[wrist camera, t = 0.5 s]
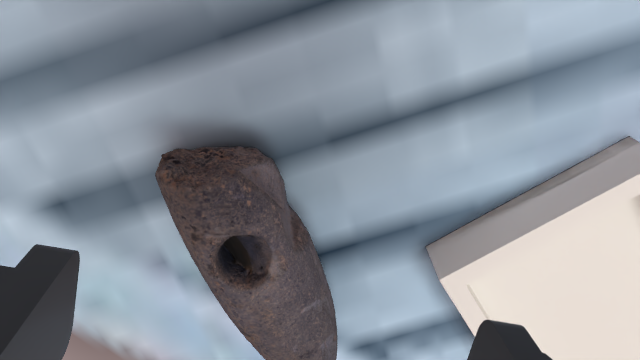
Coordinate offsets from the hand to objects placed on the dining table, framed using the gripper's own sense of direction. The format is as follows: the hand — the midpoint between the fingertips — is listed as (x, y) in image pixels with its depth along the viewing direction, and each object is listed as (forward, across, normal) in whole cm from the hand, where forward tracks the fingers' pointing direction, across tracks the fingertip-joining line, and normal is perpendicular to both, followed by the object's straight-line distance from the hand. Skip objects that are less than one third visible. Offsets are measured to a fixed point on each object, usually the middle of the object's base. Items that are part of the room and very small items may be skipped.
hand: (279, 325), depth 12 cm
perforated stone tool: (+20, -1, +7) cm, 22 cm away
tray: (+20, -22, +10) cm, 31 cm away
